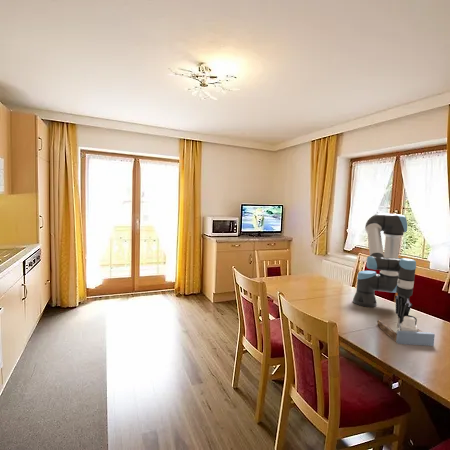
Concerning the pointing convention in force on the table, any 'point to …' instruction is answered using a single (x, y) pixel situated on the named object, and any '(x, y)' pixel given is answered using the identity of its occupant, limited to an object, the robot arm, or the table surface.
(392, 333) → the guide channel
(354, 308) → the table surface
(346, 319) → the table surface
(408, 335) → the end stop
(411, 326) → the medicine bottle
